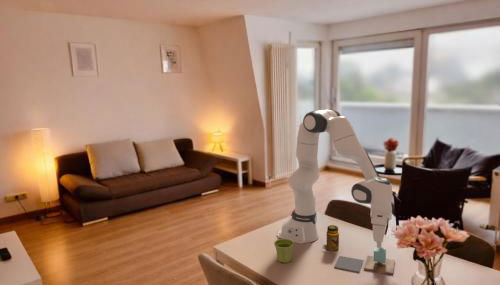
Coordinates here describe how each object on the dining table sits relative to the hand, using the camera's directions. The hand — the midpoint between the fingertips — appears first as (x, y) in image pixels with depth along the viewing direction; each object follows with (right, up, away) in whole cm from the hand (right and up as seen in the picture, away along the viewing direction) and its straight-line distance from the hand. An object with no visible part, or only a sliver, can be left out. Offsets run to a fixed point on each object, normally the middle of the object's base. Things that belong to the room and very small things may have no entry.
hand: (380, 243), depth 157 cm
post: (0, -11, +2) cm, 11 cm away
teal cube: (0, -8, +1) cm, 8 cm away
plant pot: (-42, -11, +10) cm, 45 cm away
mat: (-13, -11, +4) cm, 18 cm away
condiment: (-18, -9, +19) cm, 28 cm away
